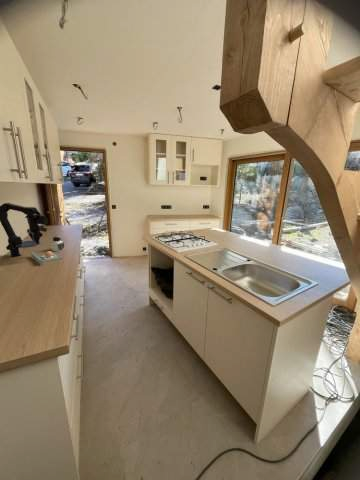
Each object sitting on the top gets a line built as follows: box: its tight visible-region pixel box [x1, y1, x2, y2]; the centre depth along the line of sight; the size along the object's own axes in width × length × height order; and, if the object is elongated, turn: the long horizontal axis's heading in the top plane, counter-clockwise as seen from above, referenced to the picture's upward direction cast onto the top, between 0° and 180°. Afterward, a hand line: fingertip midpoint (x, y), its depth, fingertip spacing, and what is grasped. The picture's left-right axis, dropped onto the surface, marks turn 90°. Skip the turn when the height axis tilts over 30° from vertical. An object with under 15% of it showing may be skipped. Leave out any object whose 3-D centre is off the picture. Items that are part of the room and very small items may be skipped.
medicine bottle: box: [50, 236, 65, 252], centre depth 184 cm, size 7×7×12 cm
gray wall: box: [30, 251, 44, 266], centre depth 158 cm, size 24×2×4 cm, turn 48°
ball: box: [44, 250, 53, 257], centre depth 165 cm, size 5×5×5 cm
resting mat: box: [37, 252, 63, 264], centre depth 166 cm, size 16×14×1 cm
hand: (35, 242), depth 164 cm, fingers open, 9 cm apart
